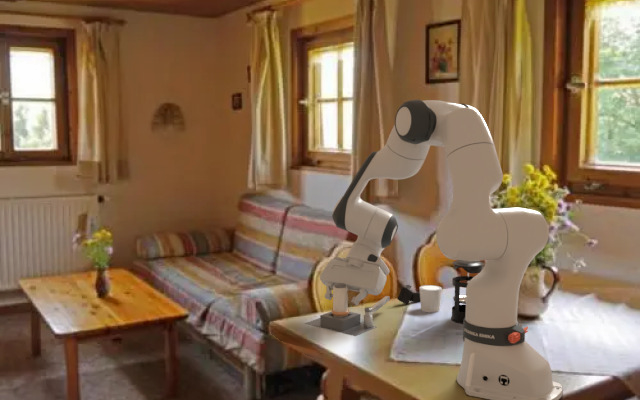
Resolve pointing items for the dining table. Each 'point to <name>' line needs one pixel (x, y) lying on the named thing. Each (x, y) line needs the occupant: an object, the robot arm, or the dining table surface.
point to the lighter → (408, 295)
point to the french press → (470, 267)
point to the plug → (340, 301)
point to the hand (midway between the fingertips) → (340, 301)
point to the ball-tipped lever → (376, 306)
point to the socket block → (344, 323)
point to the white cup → (430, 298)
